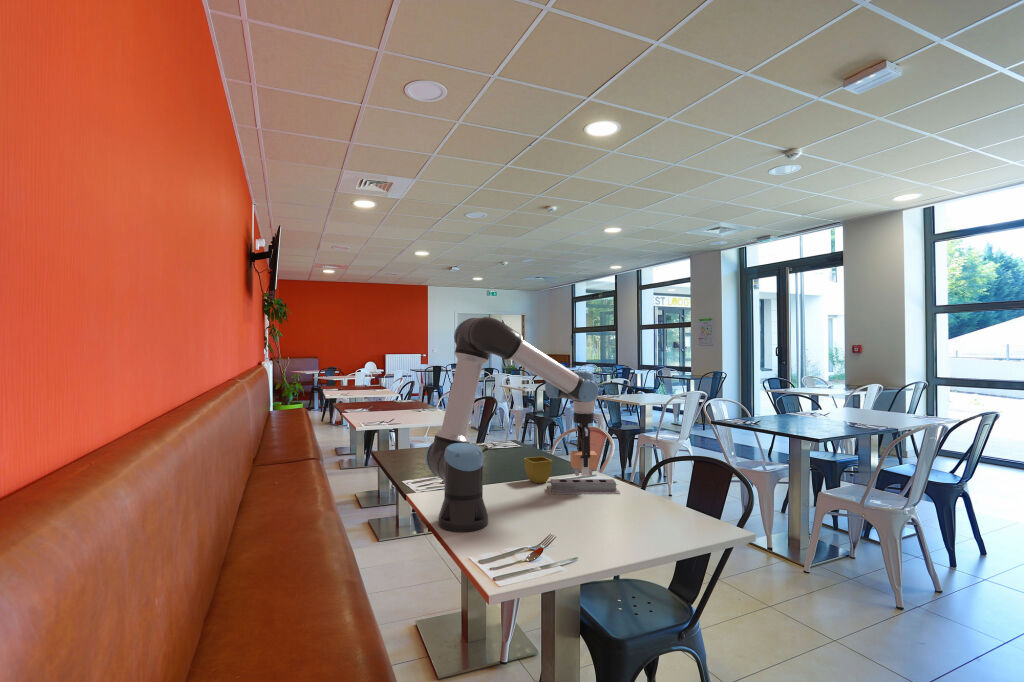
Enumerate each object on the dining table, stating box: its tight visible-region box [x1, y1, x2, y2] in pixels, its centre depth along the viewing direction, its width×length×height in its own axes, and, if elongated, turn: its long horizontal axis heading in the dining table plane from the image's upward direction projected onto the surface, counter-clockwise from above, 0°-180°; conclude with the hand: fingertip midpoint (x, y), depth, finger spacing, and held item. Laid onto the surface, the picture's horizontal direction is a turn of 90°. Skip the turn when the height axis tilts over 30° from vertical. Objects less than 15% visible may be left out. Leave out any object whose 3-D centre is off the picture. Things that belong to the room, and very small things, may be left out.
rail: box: [546, 478, 621, 495], centre depth 196 cm, size 10×26×3 cm, turn 92°
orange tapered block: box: [569, 450, 598, 477], centre depth 196 cm, size 9×7×8 cm
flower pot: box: [523, 456, 553, 484], centre depth 207 cm, size 9×9×9 cm
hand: (583, 472), depth 196 cm, fingers closed on orange tapered block, 7 cm apart
